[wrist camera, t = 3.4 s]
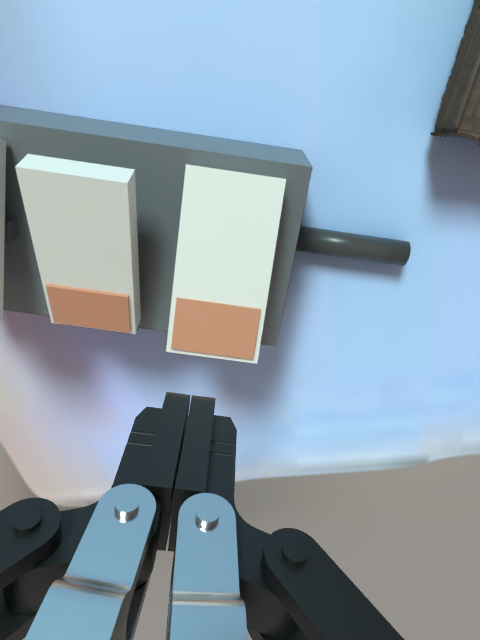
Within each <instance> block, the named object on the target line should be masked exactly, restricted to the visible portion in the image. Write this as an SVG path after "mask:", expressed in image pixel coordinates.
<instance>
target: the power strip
mask: <svg viewBox="0 0 480 640" xmlns="http://www.w3.org/2000/svg"><path fill="white" fill-rule="evenodd" d="M0 138H1V139H4V140H6V181H5V236H4V290H3V310H9V311H17V312H24V313H32V314H39V315H46V316H50V315H49V311H48V306H47V302H46V298H45V294H44V289H43V285H42V281H41V276H40V272H39V268H38V264H37V259H36V255H35V251H34V246H33V242H32V238H31V233H30V229H29V225H28V221H27V216H26V212H25V208H24V203H23V199H22V195H21V191H20V186H19V182H18V178H17V173H16V169H15V166H16V165H17V164H18V163H19V162H20V161H21V160H22V159H23V158H24V157H25V156H26V155H27V154H33V155H40V156H46V157H53V158H60V159H67V160H74V161H81V162H87V163H94V164H101V165H108V166H115V167H122V168H128V169H135V186H136V210H137V235H138V259H139V284H140V308H141V320H140V323H139V326H138V328H144V329H151V330H159V331H166V332H168V327H169V318H170V309H171V299H172V290H173V280H174V271H175V262H176V252H177V243H178V234H179V224H180V215H181V205H182V196H183V187H184V177H185V168H186V164H188V165H194V166H201V167H208V168H215V169H222V170H228V171H235V172H242V173H249V174H256V175H262V176H269V177H276V178H283V179H286V184H285V190H284V197H283V203H282V209H281V216H280V222H279V229H278V235H277V241H276V248H275V254H274V260H273V267H272V273H271V280H270V286H269V292H268V299H267V305H266V311H265V318H264V324H263V331H262V337H261V343H260V344H263V345H271V346H276V343H277V338H278V333H279V328H280V323H281V318H282V313H283V309H284V304H285V299H286V294H287V289H288V284H289V279H290V274H291V269H292V265H293V260H294V255H295V250H297V251H304V252H311V253H318V254H325V255H332V256H339V257H346V258H353V259H360V260H367V261H374V262H381V263H388V264H395V265H402V266H404V265H405V264H406V263H407V261H408V259H409V256H410V243H409V242H407V241H400V240H394V239H387V238H380V237H373V236H366V235H359V234H352V233H345V232H338V231H331V230H324V229H317V228H310V227H303V226H300V225H301V221H302V216H303V211H304V206H305V201H306V196H307V191H308V186H309V182H310V177H311V172H312V166H311V164H310V162H309V161H308V159H307V158H306V156H305V154H304V153H303V151H302V150H297V149H291V148H284V147H277V146H270V145H264V144H257V143H250V142H244V141H237V140H230V139H224V138H217V137H210V136H204V135H197V134H190V133H184V132H177V131H170V130H164V129H157V128H150V127H144V126H137V125H130V124H124V123H117V122H110V121H104V120H97V119H90V118H84V117H77V116H70V115H63V114H57V113H50V112H43V111H37V110H30V109H23V108H17V107H10V106H3V105H0Z"/></svg>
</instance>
